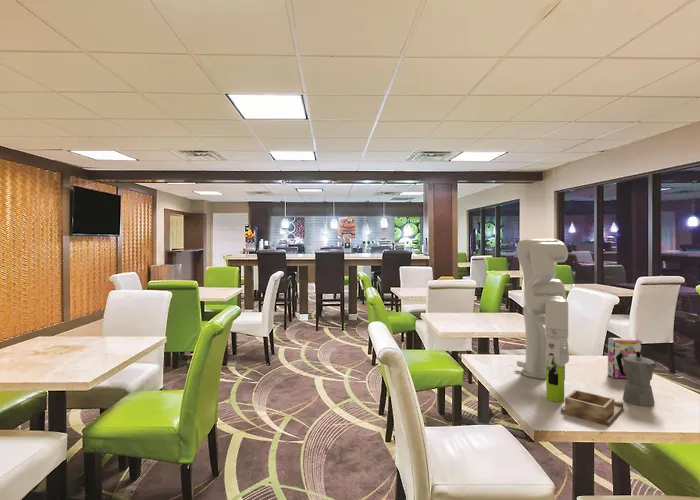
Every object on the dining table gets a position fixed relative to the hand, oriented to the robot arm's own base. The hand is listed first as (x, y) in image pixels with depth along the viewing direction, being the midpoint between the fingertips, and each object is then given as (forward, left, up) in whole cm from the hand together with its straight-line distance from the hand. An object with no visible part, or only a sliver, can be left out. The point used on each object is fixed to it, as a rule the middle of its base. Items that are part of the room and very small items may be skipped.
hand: (556, 381), depth 143 cm
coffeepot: (+20, +20, -7) cm, 29 cm away
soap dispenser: (0, 0, -7) cm, 7 cm away
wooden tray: (+12, -2, -7) cm, 14 cm away
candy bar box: (+11, +47, -7) cm, 49 cm away
